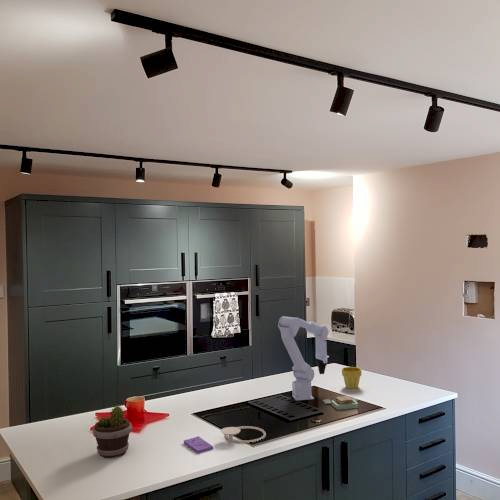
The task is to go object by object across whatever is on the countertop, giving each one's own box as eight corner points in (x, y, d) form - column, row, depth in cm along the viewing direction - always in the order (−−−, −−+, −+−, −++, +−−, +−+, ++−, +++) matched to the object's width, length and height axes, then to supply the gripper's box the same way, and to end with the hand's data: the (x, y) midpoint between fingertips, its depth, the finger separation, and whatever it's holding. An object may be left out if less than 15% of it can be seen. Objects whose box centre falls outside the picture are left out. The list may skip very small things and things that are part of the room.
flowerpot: (85, 454, 198) (83, 402, 198) (121, 442, 209) (119, 393, 209) (104, 465, 188) (102, 410, 187) (140, 452, 198) (139, 400, 198)
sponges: (198, 440, 210) (198, 436, 210) (213, 450, 199) (213, 445, 199) (183, 444, 206) (183, 440, 206) (197, 455, 195) (197, 450, 195)
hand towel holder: (274, 425, 212) (236, 439, 198) (274, 436, 212) (236, 450, 198) (247, 415, 225) (209, 427, 211) (247, 425, 225) (209, 438, 211)
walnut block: (341, 409, 243) (340, 400, 243) (336, 405, 249) (335, 397, 249) (352, 407, 244) (352, 399, 244) (347, 404, 250) (347, 395, 250)
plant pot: (363, 389, 273) (363, 371, 273) (344, 390, 273) (343, 371, 273) (359, 384, 283) (359, 366, 283) (340, 384, 284) (340, 366, 284)
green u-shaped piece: (331, 410, 241) (331, 405, 241) (322, 401, 255) (321, 397, 255) (364, 407, 244) (363, 403, 244) (353, 398, 258) (352, 394, 258)
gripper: (332, 350, 265) (333, 376, 265) (324, 345, 279) (324, 370, 279) (319, 351, 263) (320, 377, 264) (311, 345, 278) (312, 370, 278)
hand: (321, 373), depth 271 cm, fingers closed
